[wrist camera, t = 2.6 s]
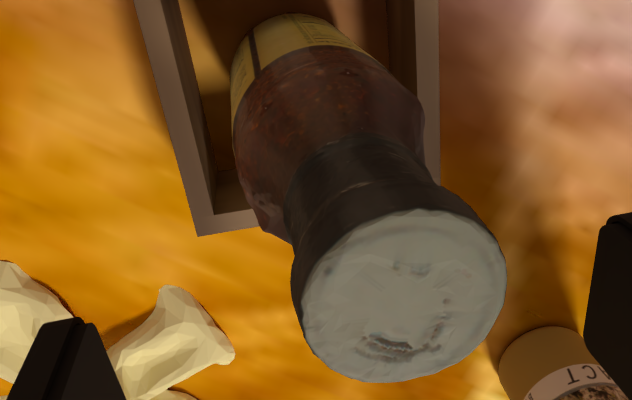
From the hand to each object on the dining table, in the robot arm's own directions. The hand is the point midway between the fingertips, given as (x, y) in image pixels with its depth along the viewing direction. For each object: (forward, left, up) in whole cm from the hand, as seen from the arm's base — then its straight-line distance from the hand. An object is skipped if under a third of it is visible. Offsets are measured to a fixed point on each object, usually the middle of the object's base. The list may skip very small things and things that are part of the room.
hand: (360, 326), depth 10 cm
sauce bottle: (-1, 0, -20) cm, 20 cm away
